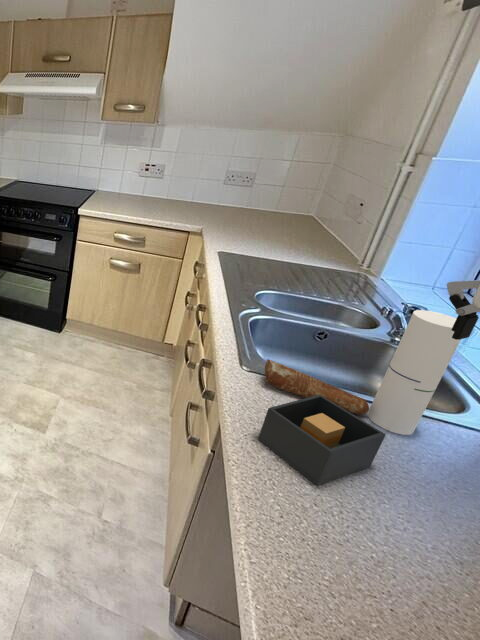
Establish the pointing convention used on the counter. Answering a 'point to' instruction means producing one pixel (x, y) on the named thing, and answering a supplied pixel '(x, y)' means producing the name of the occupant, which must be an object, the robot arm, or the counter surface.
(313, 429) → the carton
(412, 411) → the cylindrical container
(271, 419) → the bin
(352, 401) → the bread
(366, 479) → the counter surface
